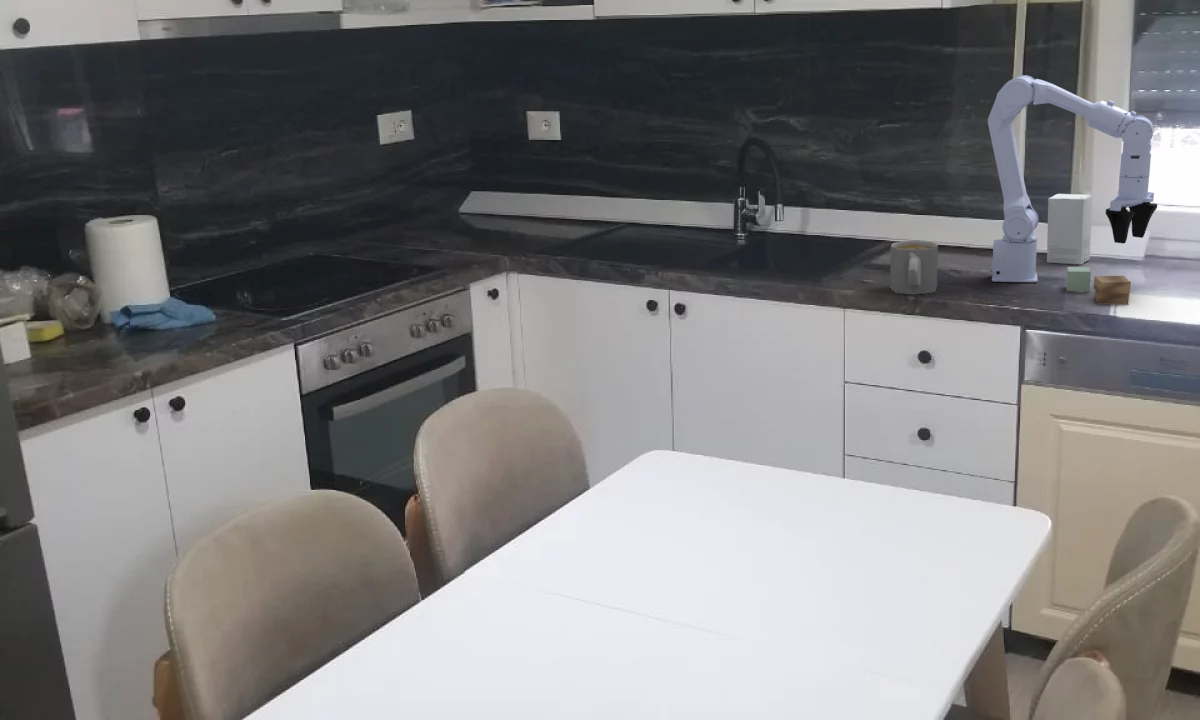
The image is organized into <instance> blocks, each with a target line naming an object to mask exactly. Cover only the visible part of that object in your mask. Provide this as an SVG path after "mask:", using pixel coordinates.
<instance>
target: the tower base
mask: <svg viewBox="0 0 1200 720" xmlns="http://www.w3.org/2000/svg"><path fill="white" fill-rule="evenodd" d="M1094 299H1096V300H1095V304H1096V303H1109V304H1108V305H1129V301H1130V294H1100V293H1098V292H1097V291H1096V290H1095V289H1094Z"/></svg>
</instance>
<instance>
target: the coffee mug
mask: <svg viewBox="0 0 1200 720" xmlns="http://www.w3.org/2000/svg"><path fill="white" fill-rule="evenodd" d="M938 256H939V245H938V243H936V242H932V241H927V240H903V241H897V242H893V243H892V244H890V272H889V273H890V274H889V278H890V279H889V280H890V281H889V282H890V284H889V286H890V287H889V289H890V288H891V289H892V290H893V291H896V292H898V293H906V294H919V293H928V292H932V291H935V290H936V289H937V290H938V263H939V262H938Z"/></svg>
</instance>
